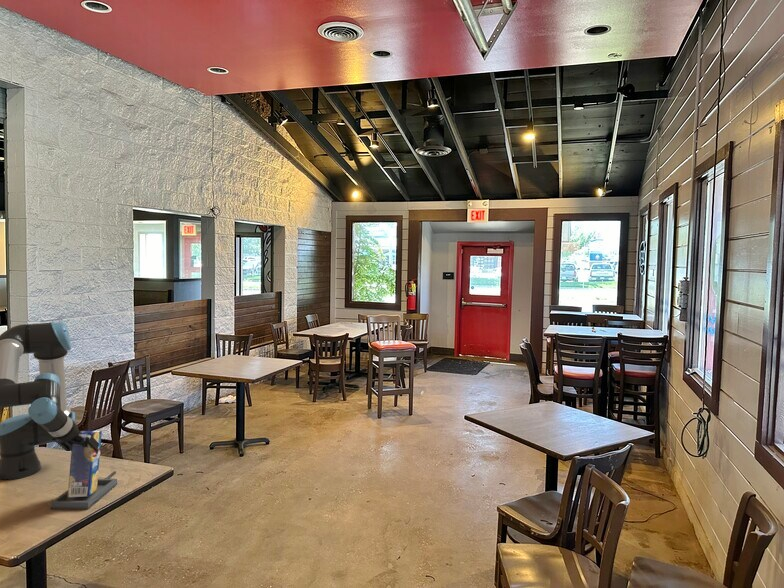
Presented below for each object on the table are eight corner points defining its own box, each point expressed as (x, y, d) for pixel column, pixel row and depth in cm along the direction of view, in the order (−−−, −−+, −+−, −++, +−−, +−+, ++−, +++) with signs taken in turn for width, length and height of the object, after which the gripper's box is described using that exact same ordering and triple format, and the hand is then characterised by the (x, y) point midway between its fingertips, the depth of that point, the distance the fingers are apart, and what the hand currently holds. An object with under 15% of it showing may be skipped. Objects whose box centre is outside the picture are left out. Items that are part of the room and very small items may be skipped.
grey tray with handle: (98, 473, 216) (98, 467, 216) (131, 473, 216) (130, 467, 216) (51, 509, 186) (50, 502, 186) (88, 509, 186) (88, 502, 185)
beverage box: (96, 489, 199) (101, 430, 202) (88, 496, 189) (93, 434, 192) (76, 490, 198) (82, 430, 201) (67, 497, 187) (73, 434, 190)
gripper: (32, 438, 179) (65, 465, 197) (82, 437, 179) (111, 465, 197) (41, 418, 184) (73, 446, 202) (90, 417, 184) (117, 446, 202)
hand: (91, 455), depth 199 cm, fingers open, 4 cm apart
